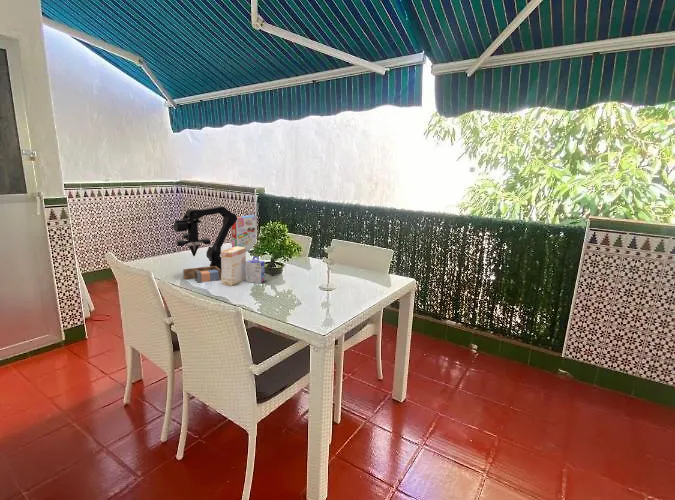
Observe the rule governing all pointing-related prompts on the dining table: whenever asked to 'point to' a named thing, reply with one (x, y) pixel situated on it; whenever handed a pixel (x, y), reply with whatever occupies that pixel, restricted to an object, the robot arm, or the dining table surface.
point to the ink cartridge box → (255, 271)
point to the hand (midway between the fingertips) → (193, 256)
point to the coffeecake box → (233, 265)
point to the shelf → (191, 273)
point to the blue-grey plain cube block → (213, 275)
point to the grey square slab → (198, 276)
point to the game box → (244, 232)
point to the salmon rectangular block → (205, 276)
